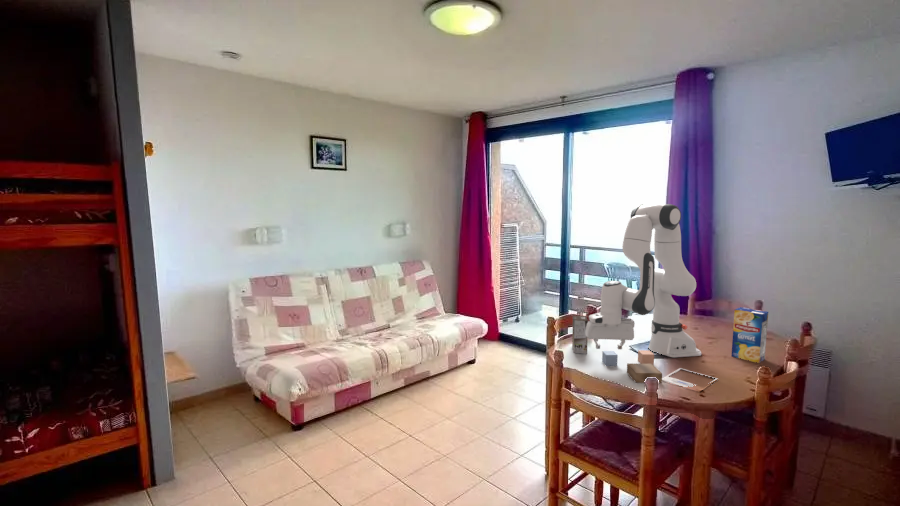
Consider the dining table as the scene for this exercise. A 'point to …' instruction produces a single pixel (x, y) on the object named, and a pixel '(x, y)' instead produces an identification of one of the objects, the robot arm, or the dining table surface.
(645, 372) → the walnut block
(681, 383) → the photo frame
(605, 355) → the blue cube
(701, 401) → the dining table surface
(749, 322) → the beverage box
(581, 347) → the coffee box
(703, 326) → the dining table surface
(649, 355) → the terracotta cube
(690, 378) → the dining table surface
